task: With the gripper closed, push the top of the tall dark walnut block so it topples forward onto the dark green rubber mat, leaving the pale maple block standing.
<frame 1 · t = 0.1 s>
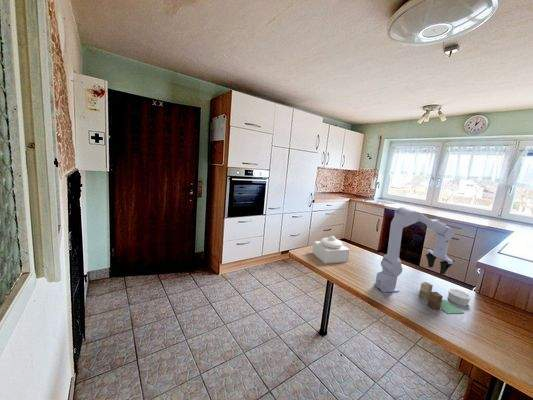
hand: (436, 270, 127), 10 cm above the table, fingers open, 7 cm apart
maple block: (424, 296, 119), on the table
ramekin: (457, 301, 117), on the table
walnut block: (433, 307, 110), on the table
butter dish: (329, 257, 160), on the table
mat: (446, 306, 111), on the table
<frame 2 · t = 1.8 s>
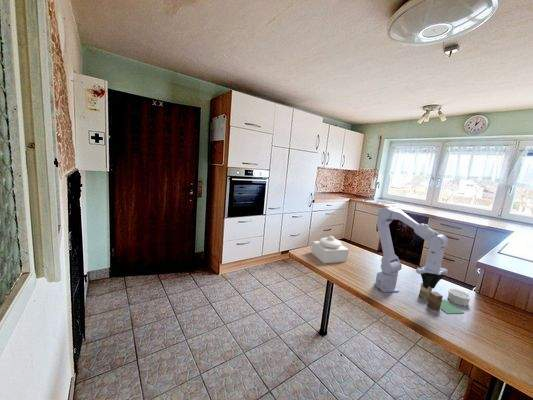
hand: (428, 287, 108), 10 cm above the table, fingers open, 3 cm apart
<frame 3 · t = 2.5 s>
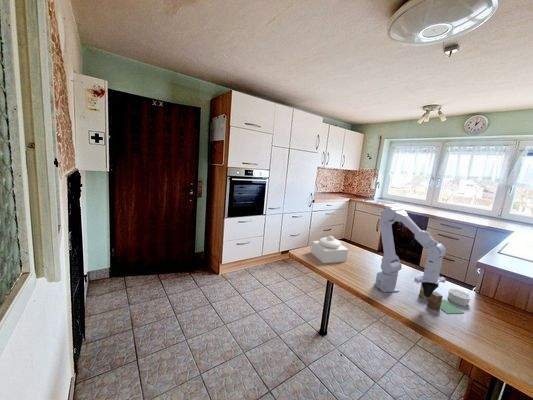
hand: (426, 296, 108), 6 cm above the table, fingers closed
nothing on the table moved.
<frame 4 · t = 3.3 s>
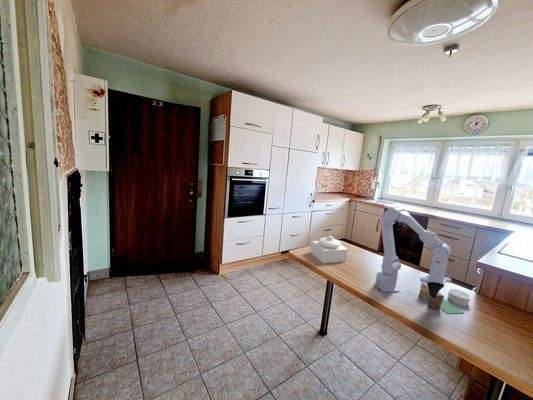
hand: (432, 296, 109), 6 cm above the table, fingers closed
walnut block: (433, 306, 110), on the table, tilted 6°, touching gripper
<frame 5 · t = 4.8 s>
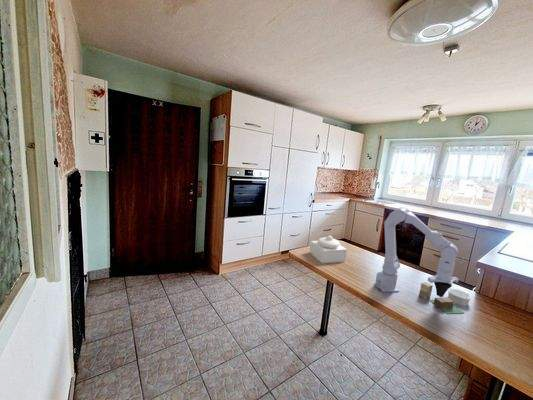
hand: (439, 295, 110), 6 cm above the table, fingers closed
walnut block: (437, 303, 110), point 2 cm above the table, tilted 90°, touching mat
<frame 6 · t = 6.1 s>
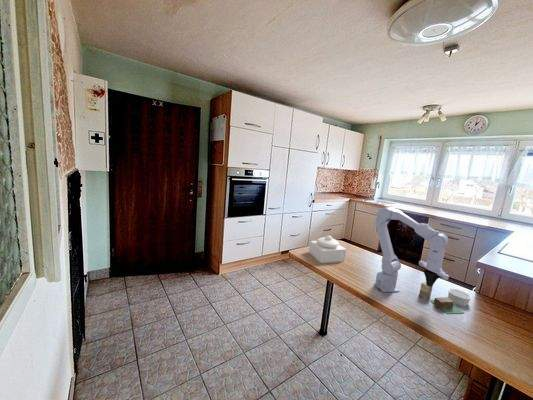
hand: (429, 285, 110), 10 cm above the table, fingers closed
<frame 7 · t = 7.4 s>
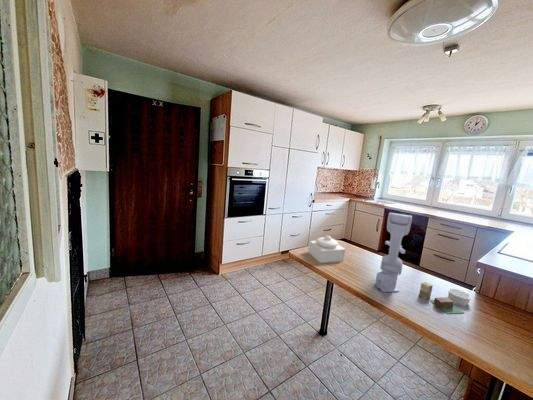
hand: (392, 260, 136), 10 cm above the table, fingers closed
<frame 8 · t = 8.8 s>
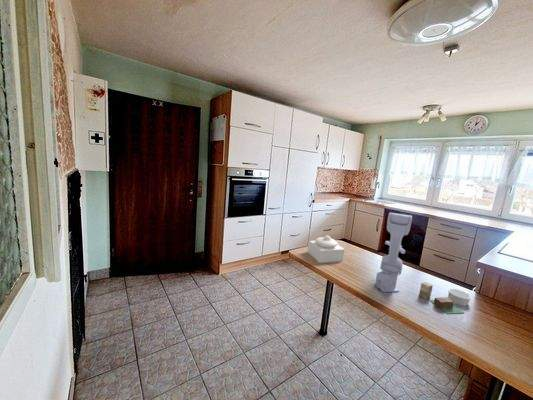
hand: (392, 260, 136), 10 cm above the table, fingers closed
at the end: walnut block tilted 90°; walnut block inside the target area (5.1 cm from its centre), point 2.0 cm above the table; maple block tilted 0° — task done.
